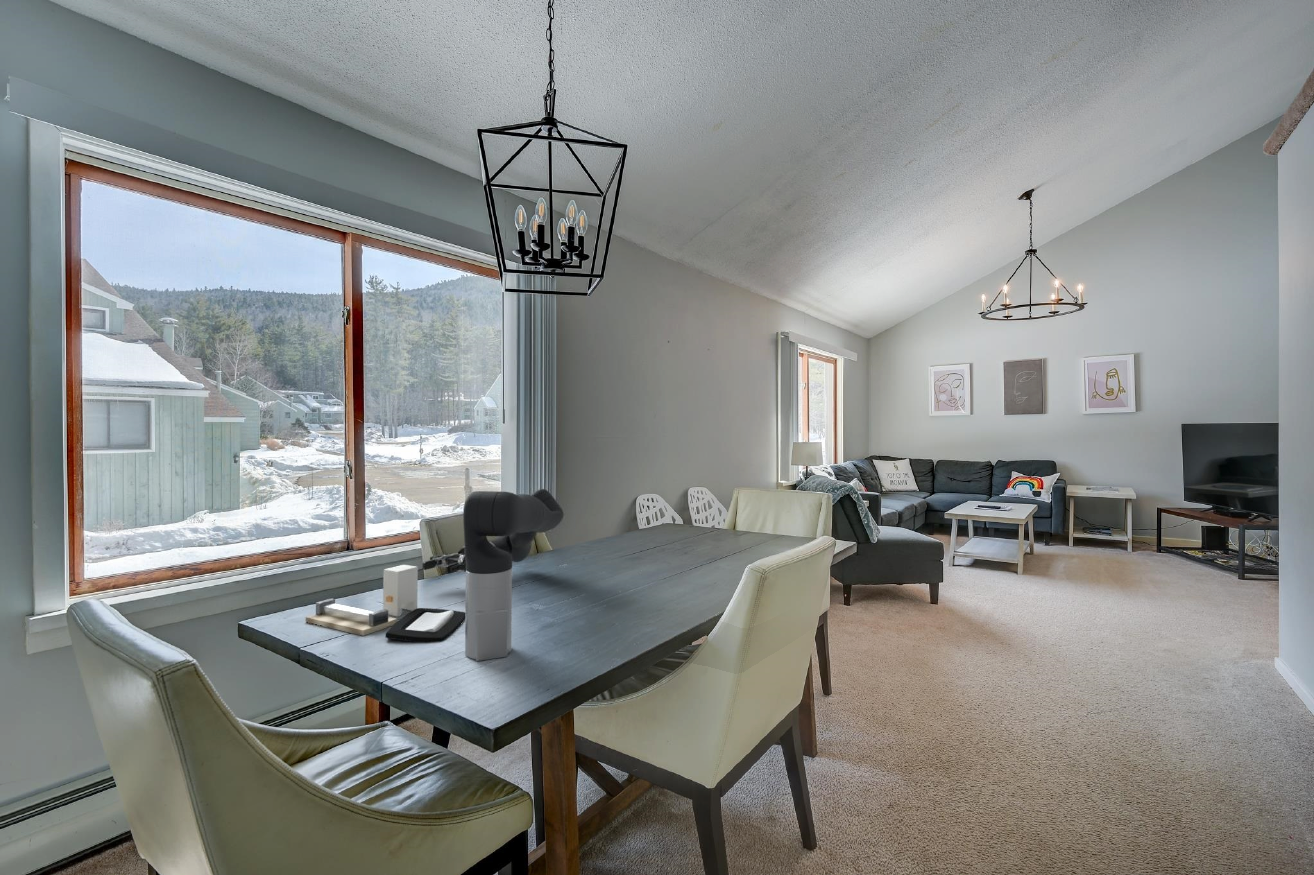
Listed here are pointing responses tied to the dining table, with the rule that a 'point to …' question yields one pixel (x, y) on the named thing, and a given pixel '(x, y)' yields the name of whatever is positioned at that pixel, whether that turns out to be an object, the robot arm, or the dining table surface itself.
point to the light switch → (426, 625)
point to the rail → (351, 613)
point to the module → (400, 589)
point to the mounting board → (348, 624)
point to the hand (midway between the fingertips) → (434, 568)
